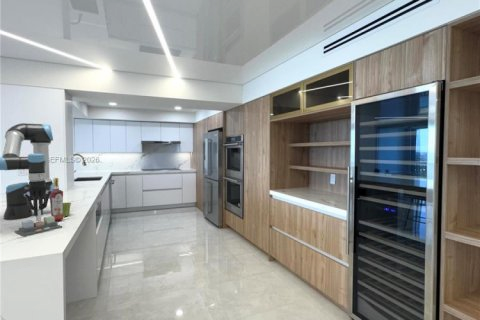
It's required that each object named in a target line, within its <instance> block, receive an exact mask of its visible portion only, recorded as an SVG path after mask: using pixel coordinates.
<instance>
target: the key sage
mask: <svg viewBox="0 0 480 320" xmlns="http://www.w3.org/2000/svg"><path fill="white" fill-rule="evenodd" d="M43 222H45V223H46V224H49V223H53V222H55V217H53V216H51V215H50V216H45V217H43Z"/></svg>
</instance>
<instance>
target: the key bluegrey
mask: <svg viewBox="0 0 480 320" xmlns="http://www.w3.org/2000/svg"><path fill="white" fill-rule="evenodd" d="M34 223H35V222H34V220H25V221H21V227H22V228H24V229H26V228H31V227H34Z"/></svg>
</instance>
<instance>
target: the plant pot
mask: <svg viewBox="0 0 480 320" xmlns="http://www.w3.org/2000/svg"><path fill="white" fill-rule="evenodd" d="M71 205H72V202H63V218H66V217H69V216H70V211H71V210H70V209H71Z"/></svg>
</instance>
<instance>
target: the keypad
mask: <svg viewBox="0 0 480 320" xmlns="http://www.w3.org/2000/svg"><path fill="white" fill-rule="evenodd" d="M58 222H59V221H56V222H53V223H49V224H46V223H45V225H41V226H37V227H35V226H34V227H31V228H26V229H24V228H22V226H21V227H18V230H14V233H15V234H17V235H19V236H22V237H29V236H33V235H37V234H41V233H42V234H43V233H45V232H49V231H54V230H57V229H59V230H60V229H62V228H63V226H62V225H60V224H58Z"/></svg>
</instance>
